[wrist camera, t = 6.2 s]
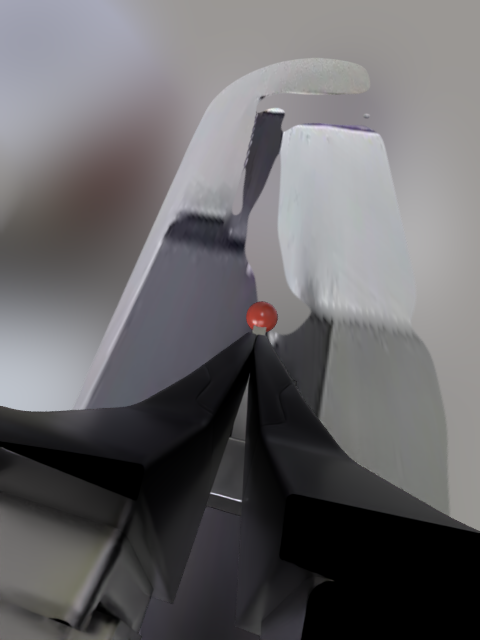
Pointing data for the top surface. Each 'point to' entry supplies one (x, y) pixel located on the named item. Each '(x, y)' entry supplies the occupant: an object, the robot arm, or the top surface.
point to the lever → (241, 417)
